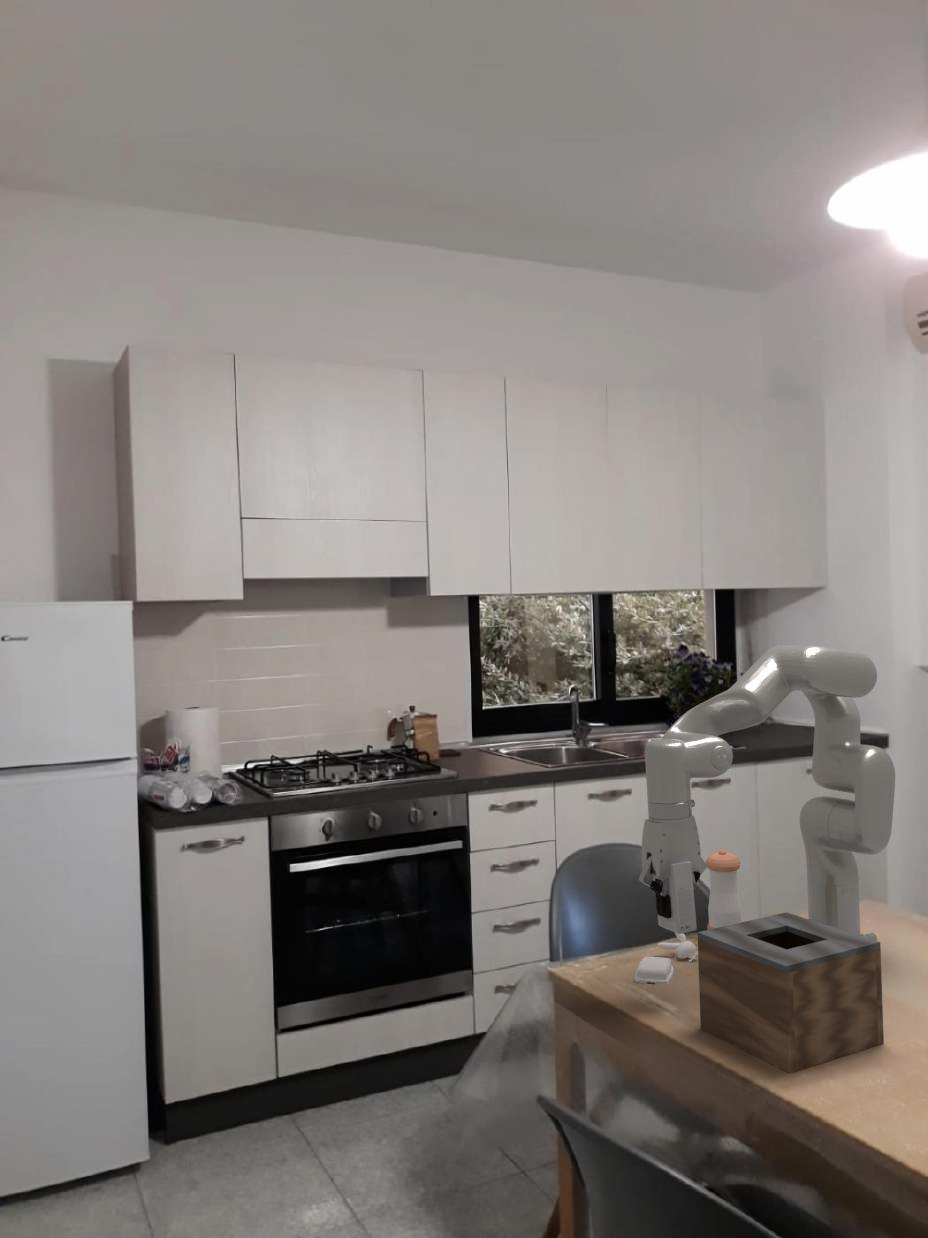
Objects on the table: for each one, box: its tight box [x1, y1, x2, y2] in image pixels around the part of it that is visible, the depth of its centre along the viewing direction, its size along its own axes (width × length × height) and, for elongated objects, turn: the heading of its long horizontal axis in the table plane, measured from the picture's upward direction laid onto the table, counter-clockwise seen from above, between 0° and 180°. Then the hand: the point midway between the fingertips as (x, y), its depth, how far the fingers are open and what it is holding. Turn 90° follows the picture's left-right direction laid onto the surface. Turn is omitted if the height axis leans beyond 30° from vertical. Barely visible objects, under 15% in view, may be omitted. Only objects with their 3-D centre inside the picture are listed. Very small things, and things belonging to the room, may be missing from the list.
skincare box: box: [657, 861, 698, 934], centre depth 185 cm, size 6×4×12 cm
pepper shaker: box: [705, 849, 742, 930], centre depth 218 cm, size 7×7×19 cm
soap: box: [634, 956, 675, 986], centre depth 200 cm, size 9×7×3 cm
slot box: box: [696, 912, 885, 1074], centre depth 170 cm, size 20×20×16 cm
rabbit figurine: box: [656, 932, 698, 963], centre depth 210 cm, size 6×4×8 cm
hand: (675, 912), depth 185 cm, fingers closed on skincare box, 4 cm apart
